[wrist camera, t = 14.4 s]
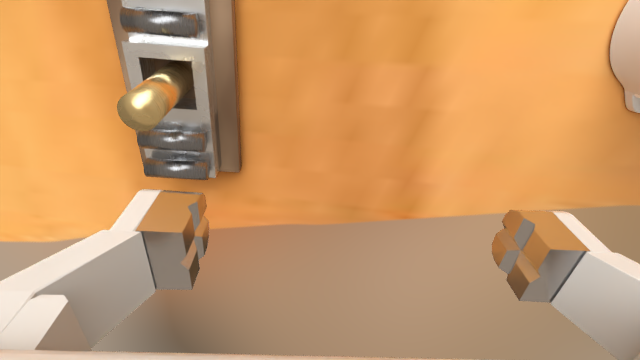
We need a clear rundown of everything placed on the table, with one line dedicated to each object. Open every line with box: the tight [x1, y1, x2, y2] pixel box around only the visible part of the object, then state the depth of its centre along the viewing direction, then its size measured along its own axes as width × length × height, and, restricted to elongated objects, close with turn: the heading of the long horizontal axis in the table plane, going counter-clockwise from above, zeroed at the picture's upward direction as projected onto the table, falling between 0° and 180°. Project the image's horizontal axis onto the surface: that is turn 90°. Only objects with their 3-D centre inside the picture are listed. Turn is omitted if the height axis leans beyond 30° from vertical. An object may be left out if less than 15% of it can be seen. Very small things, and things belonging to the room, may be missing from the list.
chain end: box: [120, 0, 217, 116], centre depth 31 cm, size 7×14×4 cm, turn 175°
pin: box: [117, 60, 194, 131], centre depth 30 cm, size 3×3×10 cm
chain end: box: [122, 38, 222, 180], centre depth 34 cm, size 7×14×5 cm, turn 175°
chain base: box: [107, 0, 241, 172], centre depth 35 cm, size 11×22×2 cm, turn 175°
